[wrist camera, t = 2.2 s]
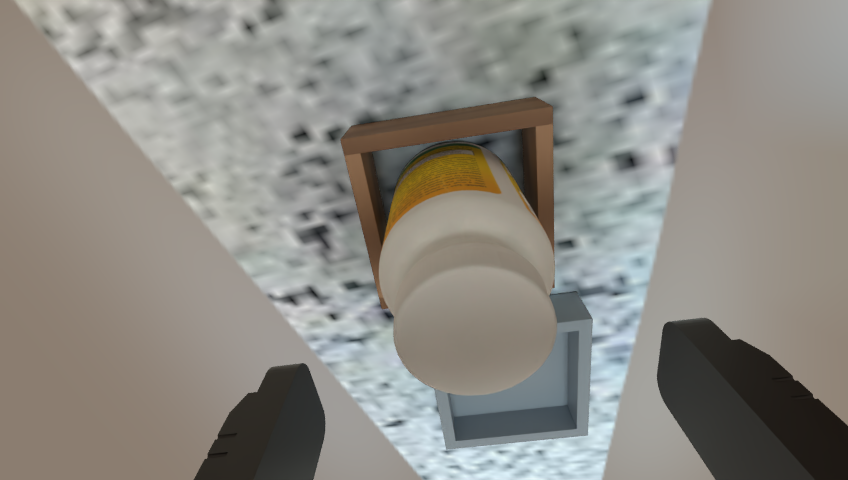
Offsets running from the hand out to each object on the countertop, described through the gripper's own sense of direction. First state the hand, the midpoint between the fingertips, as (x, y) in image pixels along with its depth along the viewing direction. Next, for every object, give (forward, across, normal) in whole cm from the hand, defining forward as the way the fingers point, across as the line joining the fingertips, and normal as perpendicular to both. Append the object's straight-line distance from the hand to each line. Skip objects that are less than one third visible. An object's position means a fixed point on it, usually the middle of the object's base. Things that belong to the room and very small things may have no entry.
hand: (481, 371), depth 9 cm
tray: (+10, -2, +10) cm, 14 cm away
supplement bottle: (+10, 0, 0) cm, 11 cm away
